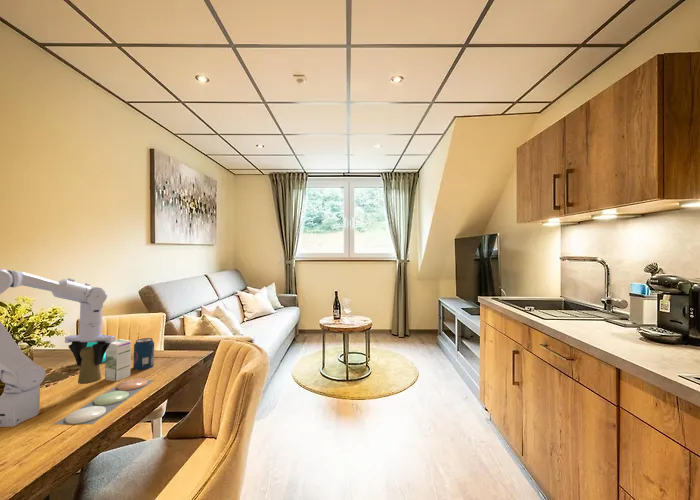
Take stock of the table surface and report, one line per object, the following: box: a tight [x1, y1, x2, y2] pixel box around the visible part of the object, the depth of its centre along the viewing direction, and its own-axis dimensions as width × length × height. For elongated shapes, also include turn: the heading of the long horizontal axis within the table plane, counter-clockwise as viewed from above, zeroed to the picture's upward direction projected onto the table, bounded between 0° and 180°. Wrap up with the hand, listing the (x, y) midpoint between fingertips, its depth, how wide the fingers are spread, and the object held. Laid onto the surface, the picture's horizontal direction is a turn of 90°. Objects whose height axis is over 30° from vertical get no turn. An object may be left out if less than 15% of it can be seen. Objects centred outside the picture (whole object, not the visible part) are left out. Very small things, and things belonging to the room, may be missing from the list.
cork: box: [77, 346, 102, 385], centre depth 106 cm, size 6×6×11 cm
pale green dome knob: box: [93, 391, 129, 406], centre depth 101 cm, size 9×9×1 cm
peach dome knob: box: [116, 378, 149, 391], centre depth 112 cm, size 9×9×1 cm
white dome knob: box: [64, 406, 106, 425], centre depth 91 cm, size 9×9×1 cm
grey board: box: [54, 379, 155, 425], centre depth 101 cm, size 30×10×1 cm, turn 3°
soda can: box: [132, 337, 155, 371], centre depth 130 cm, size 7×7×12 cm
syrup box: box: [104, 338, 132, 382], centre depth 118 cm, size 6×6×14 cm
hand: (89, 364), depth 105 cm, fingers closed on cork, 5 cm apart
